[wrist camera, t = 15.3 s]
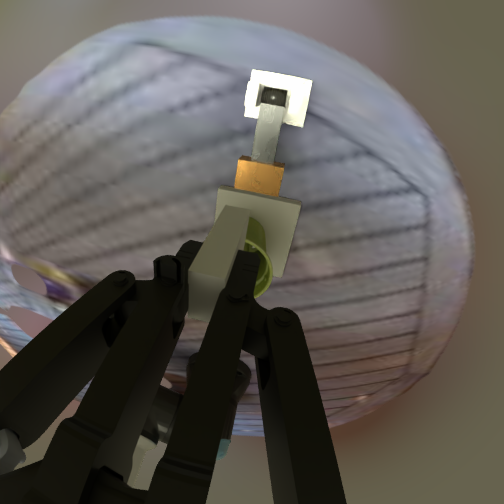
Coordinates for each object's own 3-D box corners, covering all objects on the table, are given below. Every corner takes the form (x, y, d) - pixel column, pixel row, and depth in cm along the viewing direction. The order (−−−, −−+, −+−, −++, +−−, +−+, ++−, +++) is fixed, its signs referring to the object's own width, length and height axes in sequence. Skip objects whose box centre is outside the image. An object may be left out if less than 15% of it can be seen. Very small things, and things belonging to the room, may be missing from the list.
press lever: (279, 189, 29) (278, 197, 27) (238, 181, 29) (234, 188, 27) (299, 92, 23) (299, 92, 21) (254, 84, 23) (250, 83, 21)
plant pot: (292, 234, 38) (290, 272, 30) (248, 273, 42) (238, 313, 35) (239, 190, 35) (223, 218, 28) (199, 235, 40) (178, 270, 33)
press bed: (282, 271, 43) (281, 277, 42) (213, 256, 43) (210, 262, 42) (301, 201, 36) (301, 205, 35) (221, 185, 37) (218, 188, 35)
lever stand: (302, 126, 31) (305, 136, 23) (246, 115, 31) (230, 122, 24) (311, 81, 28) (318, 75, 20) (254, 70, 28) (240, 62, 20)
